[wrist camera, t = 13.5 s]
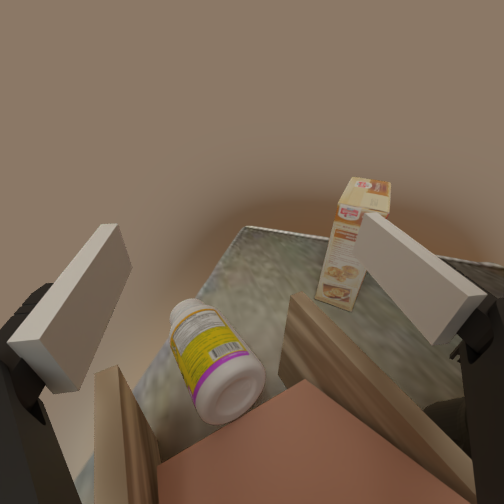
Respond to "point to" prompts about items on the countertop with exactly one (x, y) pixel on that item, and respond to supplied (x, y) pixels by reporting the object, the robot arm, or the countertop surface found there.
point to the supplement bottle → (214, 362)
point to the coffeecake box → (350, 241)
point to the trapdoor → (298, 460)
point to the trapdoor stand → (291, 372)
